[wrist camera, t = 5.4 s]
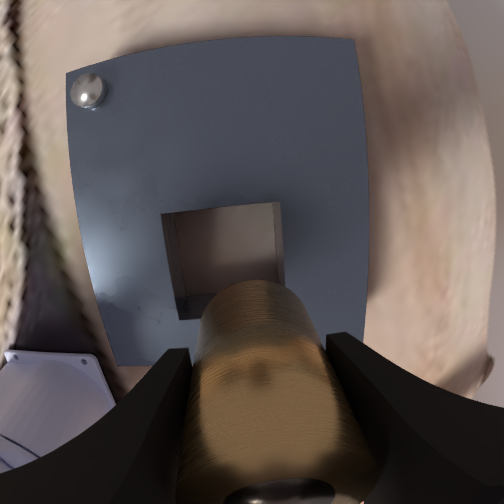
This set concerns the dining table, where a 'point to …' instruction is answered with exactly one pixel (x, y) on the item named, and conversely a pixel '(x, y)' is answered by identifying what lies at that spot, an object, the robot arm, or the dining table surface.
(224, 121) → the jig
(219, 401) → the bushing
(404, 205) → the dining table surface
